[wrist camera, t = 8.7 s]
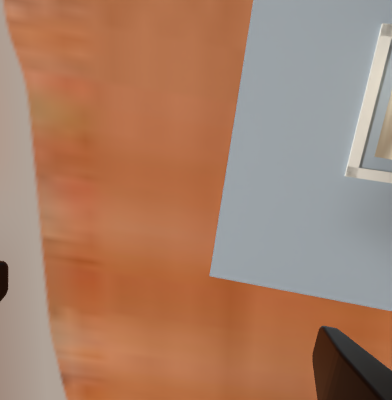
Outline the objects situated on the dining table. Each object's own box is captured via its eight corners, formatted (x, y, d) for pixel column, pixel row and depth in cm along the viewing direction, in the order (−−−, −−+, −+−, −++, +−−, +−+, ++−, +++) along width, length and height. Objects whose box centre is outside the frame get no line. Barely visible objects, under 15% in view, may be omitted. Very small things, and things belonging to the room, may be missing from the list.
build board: (460, 319, 20) (468, 327, 19) (210, 272, 22) (209, 277, 21) (574, 6, 16) (591, -1, 15) (257, -22, 18) (257, -29, 17)
